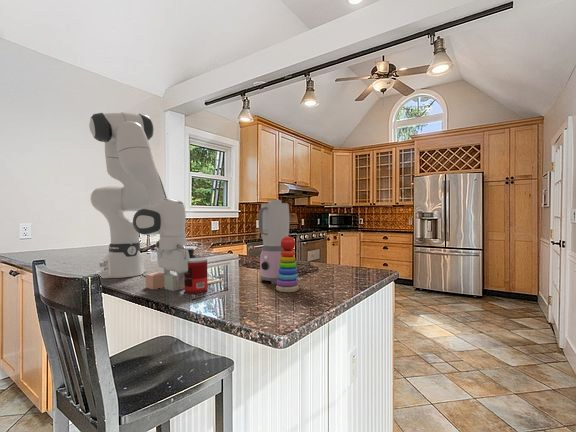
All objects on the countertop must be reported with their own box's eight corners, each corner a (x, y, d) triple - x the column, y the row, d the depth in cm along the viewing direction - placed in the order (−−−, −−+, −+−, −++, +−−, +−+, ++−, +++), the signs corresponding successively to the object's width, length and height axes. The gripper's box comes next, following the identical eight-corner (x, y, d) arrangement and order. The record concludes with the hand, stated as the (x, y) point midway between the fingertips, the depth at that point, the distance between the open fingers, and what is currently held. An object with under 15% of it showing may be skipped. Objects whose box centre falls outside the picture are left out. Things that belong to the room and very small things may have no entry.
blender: (273, 276, 133) (273, 201, 133) (297, 279, 126) (296, 200, 126) (247, 283, 121) (247, 200, 121) (271, 287, 114) (271, 198, 113)
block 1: (145, 288, 114) (145, 274, 114) (158, 285, 118) (158, 272, 118) (153, 290, 111) (152, 276, 111) (165, 287, 115) (165, 273, 115)
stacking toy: (296, 293, 105) (296, 237, 104) (273, 292, 106) (273, 237, 106) (300, 288, 112) (300, 235, 112) (278, 287, 114) (278, 235, 114)
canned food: (211, 288, 113) (210, 257, 113) (202, 294, 105) (201, 261, 105) (190, 287, 114) (190, 257, 114) (180, 293, 106) (179, 260, 106)
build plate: (189, 282, 123) (189, 280, 123) (206, 279, 129) (206, 276, 129) (204, 285, 117) (204, 283, 117) (221, 281, 124) (221, 279, 124)
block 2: (164, 289, 113) (164, 275, 113) (176, 286, 117) (176, 273, 117) (172, 291, 110) (172, 276, 110) (185, 288, 114) (184, 274, 114)
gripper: (194, 245, 107) (195, 285, 107) (170, 241, 122) (170, 277, 122) (176, 246, 103) (177, 288, 103) (153, 242, 118) (154, 279, 118)
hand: (173, 282), depth 113 cm, fingers open, 8 cm apart
